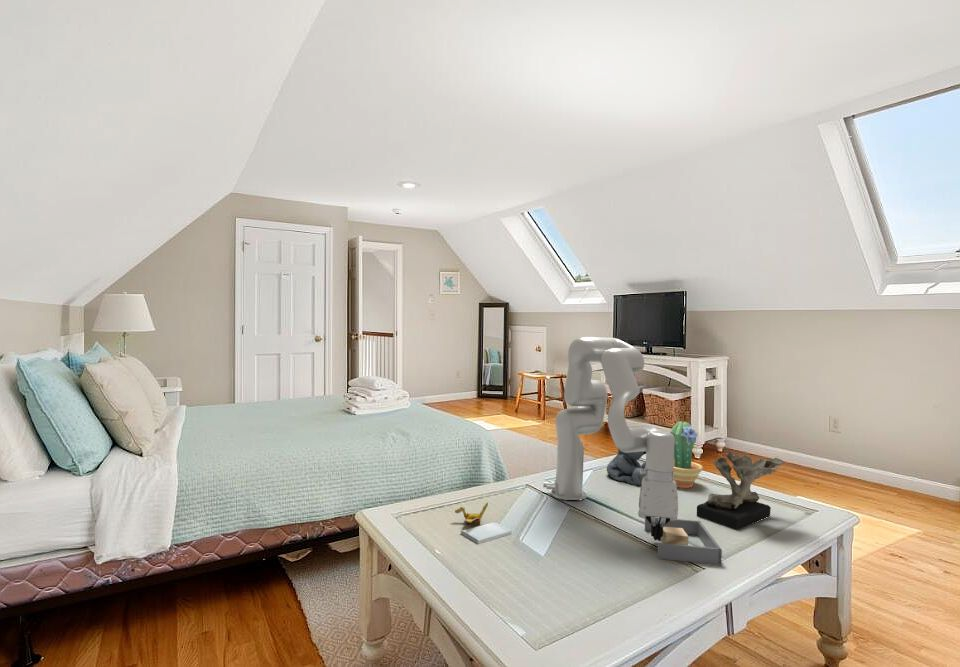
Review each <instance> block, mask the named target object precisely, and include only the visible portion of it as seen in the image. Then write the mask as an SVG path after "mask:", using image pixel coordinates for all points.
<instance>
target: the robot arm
mask: <svg viewBox="0 0 960 667" xmlns="http://www.w3.org/2000/svg"><path fill="white" fill-rule="evenodd" d="M567 352H568V353H567V357H568V358H567V359H568V366H567V367H568V369H567V375H566V380H565V386H564V392H563V398H564V402H565V403H566V404H567V405H568V406H570V407H571V406H572V407H573V408H572V407H571V408H565V409H562V410H559V411H558V412H557V414H556V415H555V421H554V422H555V429H556V437H557V438H556V440H557V445H556V446H557V447H556V448H557V449H556V468H555V469H556V474H555V475H556V476H555V480H554V481H552V482H549V481H544V482H543V483H542V484H543V488H546V490H551V492H550V494H551V496H553V497H554V498H556V499H558V498H559V500H561V499H564V500H563V501H566V500H580V499H584V500H585V499H587V496H588V495H587V494H588V493H586V491H585V490H583V485H584V483H583V481H584V454H585V452H584V449H585V448H584V444H583V442H582V440H581V438H580V435H581V436H582V435H591V434H596V433H598V432H599V431H601V429H602V426H603V424H604V417H605V413H606V407H607V401H608V390H607V386H606V385H605V383H604V382H602V381H601V380H599V379H592V376H593V367H592V364H591V363H592V362H593V363H594V362H596V363H597V362H598V363H601V367H602V370H603V373H604V377H605V379H606V381H607V384H608V388H609V391H610V393H611V394H610V395H611V397H612V399H611V403H610V405H609V407H608V414H607V425H608V429H609V432H610V435H611V438H612V441H613V443H614V445H615V447H616V448H617V450H618V449H619V450H620V451H622V452H625V453H631V452H644V451H646V454H645V462H646V467H645V468H644V469H643V470H640V474H643V475H644V476H645V477H643V480H642V484H641V485H640V489H639V490H640V491H639V497H638V498H639V499H638V512H637V516H638V517H639V518H641V519H644V520H645V519H647V520H648V521H649V522H650V524H651V531H650V536H651V537H652V539H653V540H654V542H655V541H656V542H657V541H658V542H662V541H661V537H663V527H664V526H665V524H667V523H668V522H669V521H674V520H677V519H678V516H679V500H678V494H679V493H678V487H677V485H676V482H675V481H674V480H673V468H674V443H675V438H674V436H673V434H671V433H670V432H669V431H664V430H660V429H659V428H656V427H655V426H653V425H634V426H633V425H631V426H628V423H627V420H626V417H625V407H626V405H627V403H628V402H630V401H631V400H634V399H635V398H637V396H638V395H639V394H640V387H639V385H638V383H637V380H636V377H635V375H636V374H639V373H641V372H642V371H643V370H644V368H645V358H644V355H643V354H642V353H641V351H640V350H639V349H638V348H637V347H635V346H633V345H631V344H629V343H628V342H625V341H623V340H621V339H618V338H617V337H602V336H599V337H598V336H582V337H577V338H574V340H573V341H571V343H570V344H569V347H568V350H567ZM580 501H581V500H580ZM655 517H659V521H658V523H657V524H656V520H655Z"/></svg>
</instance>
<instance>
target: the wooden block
mask: <svg viewBox="0 0 960 667" xmlns="http://www.w3.org/2000/svg"><path fill="white" fill-rule="evenodd" d="M661 540H662V541H661V543H668V544H679V545H689V534H686V532H685V531H684V530H683V528H674V527H663V537H661Z"/></svg>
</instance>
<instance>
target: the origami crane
mask: <svg viewBox="0 0 960 667" xmlns="http://www.w3.org/2000/svg"><path fill="white" fill-rule="evenodd" d="M487 507H489V502H486V503H485V504H484V505H483V506H482V510H481V511H480V512H479V513H478V512H477V513H476V512H475V513H469V512H466V508H465V507H462V506H460V507H459V508H457V509H455V510H454V512H455V513H456V514H460V513H461V512H462V513H463V517H464V518H465V519H464V522H465V523H466V525H468V526H469V523H470V524H471V523H472V522H473V521H475V520H476V521H477V525H480V524H481V519H482V517H483V515H484V513H485V512H486V510H487Z"/></svg>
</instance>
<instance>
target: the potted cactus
mask: <svg viewBox="0 0 960 667" xmlns="http://www.w3.org/2000/svg"><path fill="white" fill-rule="evenodd" d="M669 433H671V434H673V436H674V438H675V443H674V468H673V480H674V481H675V482H676V485H677V488H681V489H682V488H683V489H690V488H689V487H691V488H693V487H694V482H695V481H696V480H697V479H698V477H699V474H700V473H701V472H702V471H703V468H704V467H703V465H701V464H700V463H697V462H694V461H692V459H693V458H692V454H693V448H694V446H695V444H696V442H697V437H698V433H697V432H696V430H695V429H694V428H693V427H692V425H691V424H690V423H689V422H687V421H677V422H676V423H675V425H673V427H672V428H671V430H670V432H669ZM692 486H693V487H692Z"/></svg>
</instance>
